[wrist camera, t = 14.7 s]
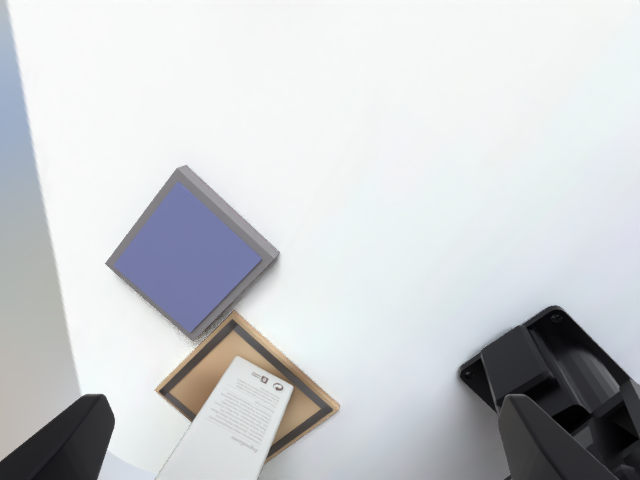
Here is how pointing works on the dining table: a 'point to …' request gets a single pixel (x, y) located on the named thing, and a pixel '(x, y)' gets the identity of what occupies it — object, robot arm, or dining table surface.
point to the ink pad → (190, 253)
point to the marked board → (246, 342)
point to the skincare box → (231, 427)
